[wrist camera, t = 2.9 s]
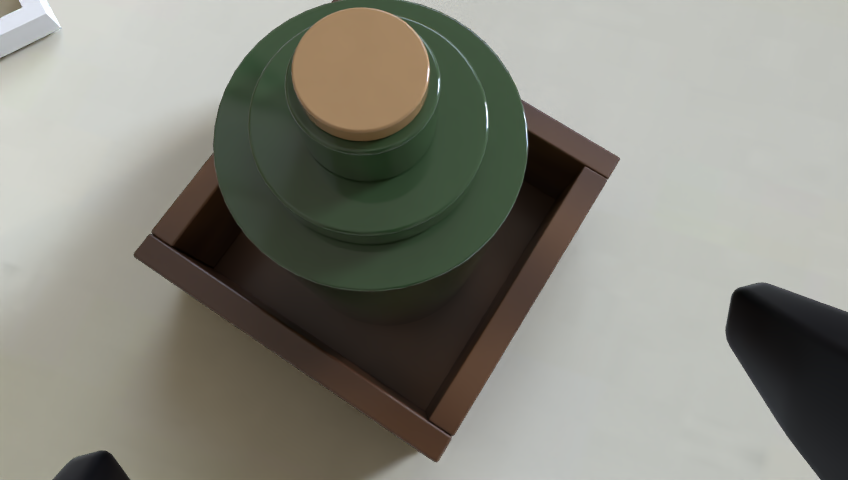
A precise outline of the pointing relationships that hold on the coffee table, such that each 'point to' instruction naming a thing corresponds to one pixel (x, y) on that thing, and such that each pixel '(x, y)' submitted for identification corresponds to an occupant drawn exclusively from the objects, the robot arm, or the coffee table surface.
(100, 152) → the coffee table surface
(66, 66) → the coffee table surface
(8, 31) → the photo frame
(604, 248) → the coffee table surface
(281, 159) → the bottle
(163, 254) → the crate
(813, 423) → the robot arm
